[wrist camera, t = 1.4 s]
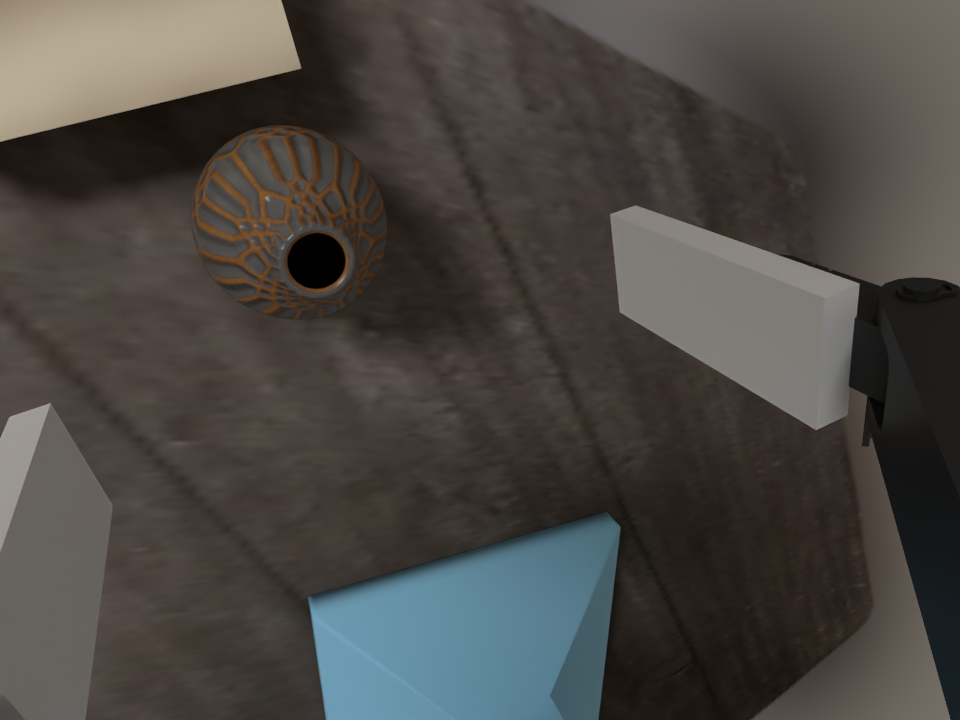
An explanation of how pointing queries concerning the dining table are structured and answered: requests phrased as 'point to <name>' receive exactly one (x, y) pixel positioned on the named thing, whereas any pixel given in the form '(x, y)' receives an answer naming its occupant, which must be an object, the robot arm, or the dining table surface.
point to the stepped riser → (129, 55)
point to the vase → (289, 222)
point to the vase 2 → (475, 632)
